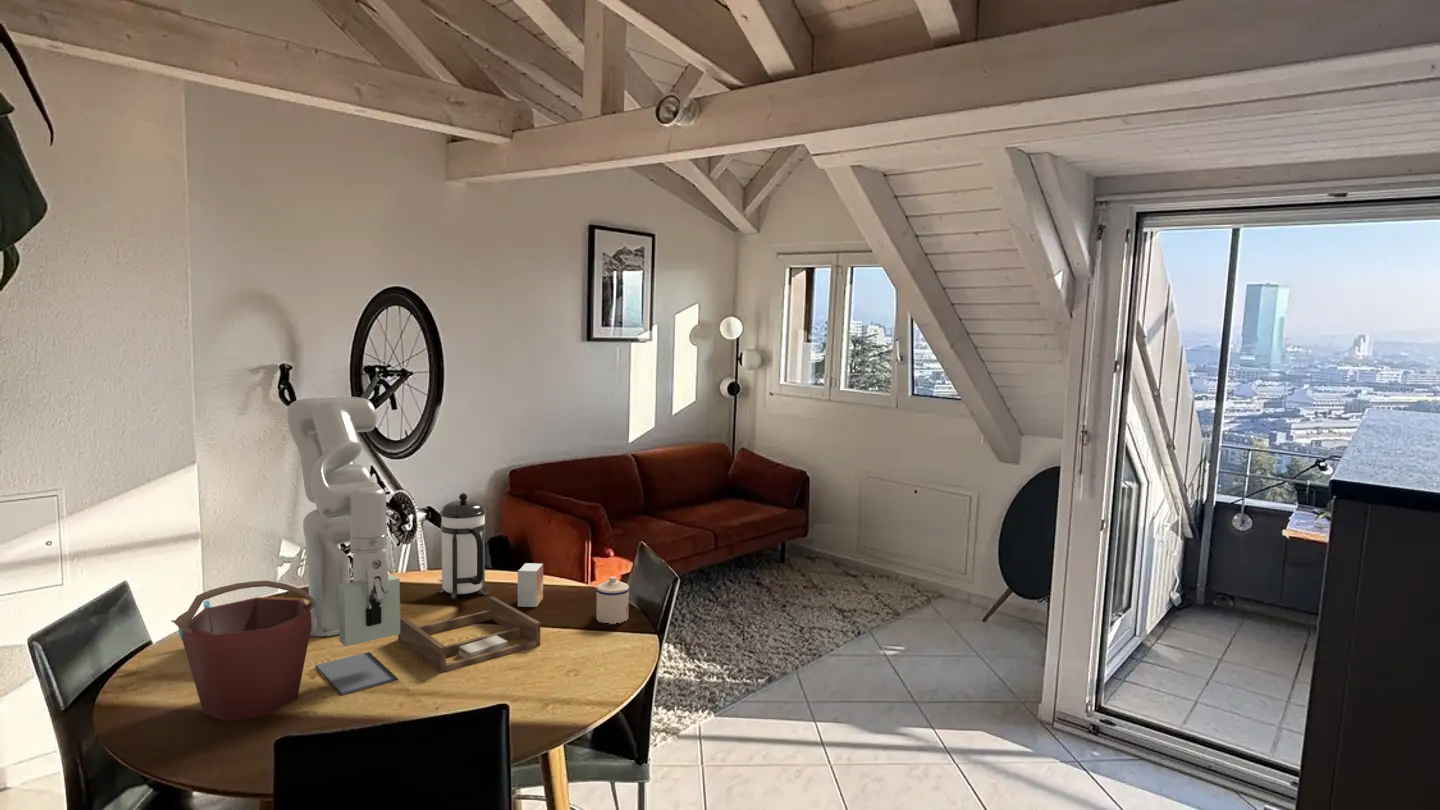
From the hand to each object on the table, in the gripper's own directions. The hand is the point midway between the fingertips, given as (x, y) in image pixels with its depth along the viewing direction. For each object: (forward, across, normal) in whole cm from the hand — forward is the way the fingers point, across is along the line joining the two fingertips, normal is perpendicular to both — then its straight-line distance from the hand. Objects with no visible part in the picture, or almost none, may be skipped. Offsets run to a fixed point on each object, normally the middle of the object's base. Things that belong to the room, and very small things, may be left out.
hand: (370, 620), depth 182 cm
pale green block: (+4, 0, 0) cm, 4 cm away
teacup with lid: (+12, -6, -62) cm, 63 cm away
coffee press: (+11, +36, -40) cm, 55 cm away
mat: (+12, 0, 0) cm, 12 cm away
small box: (+12, +18, -51) cm, 55 cm away
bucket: (+12, 0, +24) cm, 27 cm away
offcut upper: (+10, -9, -23) cm, 27 cm away
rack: (+12, -2, -23) cm, 26 cm away
